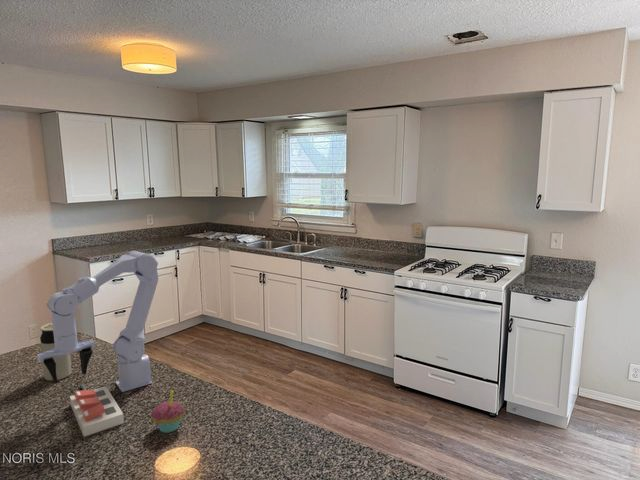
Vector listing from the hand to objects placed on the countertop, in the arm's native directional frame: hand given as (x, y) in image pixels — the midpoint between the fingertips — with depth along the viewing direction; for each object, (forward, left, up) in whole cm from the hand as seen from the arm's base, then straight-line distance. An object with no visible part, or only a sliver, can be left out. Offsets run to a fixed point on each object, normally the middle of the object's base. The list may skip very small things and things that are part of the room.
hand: (69, 377), depth 127 cm
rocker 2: (-3, +15, -6) cm, 16 cm away
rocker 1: (-3, +3, -6) cm, 7 cm away
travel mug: (0, -25, -10) cm, 27 cm away
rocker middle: (-3, +9, -5) cm, 11 cm away
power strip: (-5, +3, -9) cm, 11 cm away
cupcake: (-19, +29, -10) cm, 35 cm away
